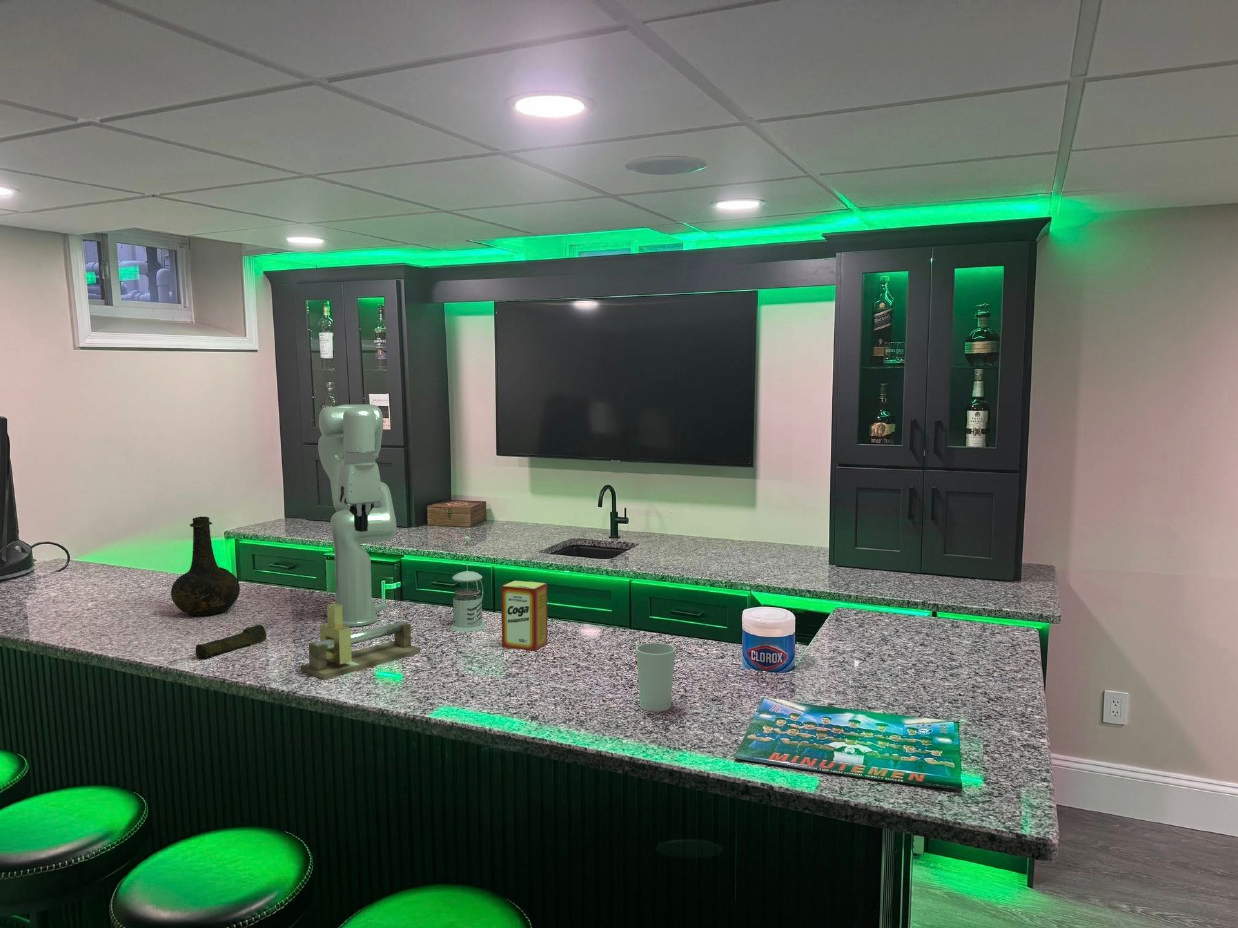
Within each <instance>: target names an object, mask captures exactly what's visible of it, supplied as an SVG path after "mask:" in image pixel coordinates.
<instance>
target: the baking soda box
mask: <svg viewBox="0 0 1238 928" xmlns="http://www.w3.org/2000/svg"><path fill="white" fill-rule="evenodd" d="M500 587H501V588H500V589H501V647H502V648H507V649H515V650H516V649H517V650H524V651H532V652H537V651H539V650H540V649H541V648H543V647H545V646H546V645H548V583H546V582H545V583H544V582H538V581H536V582H535V581H524V580H523V581H522V580H512V581H510V582H507V583H504V584H503V585H501V586H500Z"/></svg>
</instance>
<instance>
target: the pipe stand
mask: <svg viewBox="0 0 1238 928" xmlns="http://www.w3.org/2000/svg"><path fill="white" fill-rule="evenodd" d="M399 622H403V621H401V620H400V621H396V622H393V624H395V623H399ZM405 623H406V624H403V625H401V626H402V631H401V632H399V633H395V634H393V635H394V640H393V641H389V642H385V643H382V644H378V645H374V646H369V647H367V648H362V649H359V650H355V651H351V657H352V661H351V662H347V663H343V664H338V663H335V662H332V661H329V660H327V654H326V645H325V644H322V645H315V644H314V643H316V642H317V641H313V642H310V643H309V642H308V658H309V659H308V663H304V664H301V665H300V671H301V672H303V673H305V674H308V675H310V676H314V677H316V678H318V679H320V680H323V681H325V680H328V679H333V678H336V677H340V676H343V675H347V674H351V673H354V672H357V671H360V670H361V671H362V670H365V669H369V668H372V667H375V666H379V665H382V664H386V663H389V662H393V661H397V660H400V659H404V658H408V657H410V656H414V655H418V654H421V648H420V647H418V646H414V645H412V631H411V630H412V627H411V623H407V622H405Z"/></svg>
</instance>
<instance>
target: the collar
mask: <svg viewBox="0 0 1238 928" xmlns="http://www.w3.org/2000/svg"><path fill="white" fill-rule="evenodd" d="M326 612H327V622H325V623H321V624H319V632H320V633H319V636H320V638H319V639H320V641H319V642H321V641H325V640H329V639H333V638H334V649H332V650H328V651H326V654H327V660H329V661H332V662H335V663H338V664H343V663H347V662H351V661H352V657H351V652H352V645H351V634H352V628H351V627H346V626H343V618H342V605H340V604H336V602H333V603H329V604H327V606H326Z"/></svg>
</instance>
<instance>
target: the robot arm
mask: <svg viewBox="0 0 1238 928" xmlns="http://www.w3.org/2000/svg"><path fill="white" fill-rule="evenodd" d="M318 428H319V430H320V433H321V436H320V437H319V439H318V443H317V450H318V455H319V461H320V462H321V465H322V468H323V471H325V473H326V475H327V477H328V479H329V481H330V488H331V489H330V490H331V497H332V503H333V507H334V509H335V511H336V512H335V513H334V514H332V516H331V518H330V532H331V537H332V542H333V550H334V551H333V552H334V553H333V554H334V574H335V575H334V577H335V603H336V604H340V605H342V618H343V626H346V627H349V628H351V627H363V626H368V625H371V624H373V623H375V622H377V621H378V618H379V617H378V614H377V612H378V611H383V610H387V608H388V605H387V602H380V603H377V602H373V600H372V566H371V565H372V564H371V563H372V561H371V557H370V555H369V553H368V551H366V550H365V548H363V547H362V546H361V544H365V543H377V542H378V543H380V542H381V543H382V542H388V541H391V540H392V539H394V538H395V536H396V534H397V519H396V514H395V513H396V512H395V509H394V504H393V497H392V494H391V491H390V488H389V486H388V485H387V484H386V483H385V482H383V481H381V476H380V475H381V474H380V469H379V465H378V463H377V462H376V459H378V458H379V456H380V455H379V454H380V451H381V448H382V446H381V445H382V440H383V437H382V436H383V432H384V431H383V430H384V416H383V412H382V410H381V408H380V407H379V406H377V404H376V405H375V404H372V403H371V404H369V403H367V404H364V403H363V404H360V403H359V404H354V403H353V404H348V403H347V404H346V403H345V404H339V405H337V406H330V407H322V408H321V410H320V412H319V416H318Z"/></svg>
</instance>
